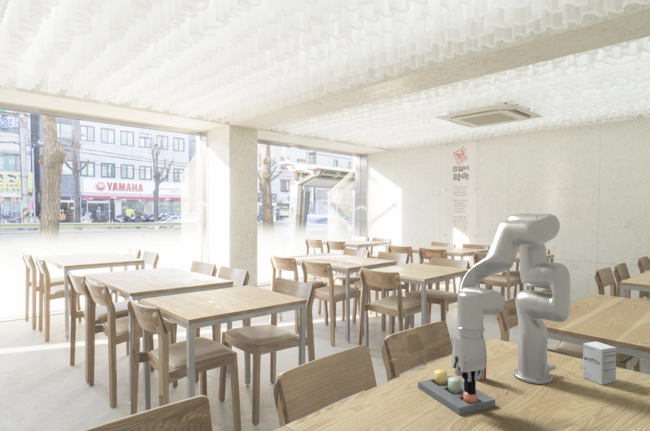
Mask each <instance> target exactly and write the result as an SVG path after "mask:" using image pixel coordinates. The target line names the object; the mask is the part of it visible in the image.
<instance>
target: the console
mask: <svg viewBox="0 0 650 431" xmlns="http://www.w3.org/2000/svg"><path fill="white" fill-rule="evenodd" d="M449 377H454V376H453V375H447V385H442V386H438V385H437V384H435V383H434V378H432V379H428V380H427V379H426V380H420V381H417V389H419V390H420V391H422V392H423V393H425V394H426V395H428V396H429V397H431V398H432V399H434V400H435V401H437V402H438V403H440V404H441V405H443V406H445V407H446V408H447V409H449V410H451V411H452V412H453V413H455V414H456V415H458V416H461V415H464V414H468V413H472V412H473V413H474V412H476V411H477V412H478V411H481V410H485V409H490V408H494V407H496V399H495V398H494V397H491V396H489V395H488V394H486V393H484V392H482V391H481V390H479V389H477V388H476V392H477V403H474V404H468V403H466V402H465V401H463V391H464V381H462V380H461V393H460V394H452V393H450V392H448V378H449Z"/></svg>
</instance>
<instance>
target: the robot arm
mask: <svg viewBox="0 0 650 431" xmlns="http://www.w3.org/2000/svg"><path fill="white" fill-rule="evenodd" d="M560 230H561V224H560V220H559V219H558V217H557V216H556V215H555V214H553V213H551V214H550V213H514V214H511V215H509V216H508V217H506V220H504V221H502V222H500V223H499V224H498V226H497V227H496V230H495V232H494V234H493V238H492V240H491V242H490V245H489V247H488V250H487V253H486V254H485V255H486V256H485V257H484V258H482V259H481V260H479V261H478V262H477V263H475V264H474V265H473V266H471V268H470V269H469V270H467V272H466V273H465V275H464V276H463V278H462V280H461V283H460V286H459V288H458V292H457V299H456V301H457V304H456V306H457V308H456V309H457V310H456V311H457V314H456V316H457V318H456V319H457V321H456V323H457V324H456V329H457V331H456V334H457V335H456V336H455V337H454V339H453V345H452V353H451V366H452V368H453V369H455V371H454V375H455V376H457V377H460V378H461V377H462V379H463V382H464V391H465V392H467V393H468V394H470V395H473V394H476V389H477V388H476V386H477V385H476V384H477V381H478V380H477V379H478V375H479V374H480V373H482V372H484V371H485V367H486V368H487V361H488V359H487V358H488V356H487V355H488V354H487V346H486V345H487V344H486V339H485V337H484V332H485V331H486V328H485V327H484V316H485V315H487V316H488V315H493V316H494V315H498V314H499V313H501V312H502V311H503V310H504V309H505V305H506V299H505V297H504V295H503V294H502V293H501V292H499V291H498V290H494V289H488V288H484V287H483V288H482V287H478V285H479V284H480V283H481V282H482V281H483V280H485V279H487V278H488V277H491V276H494V275H496V274H500V273H502V272H506V271H508V270H510V269H511V268H513V266H514V262H515V259H516V256H517V254H518V252H519V278H520V282H521V283H522V284H523V285H524V286H527V287H532V288H539V289H545V290H550V292H546V291H540V290H533V289H524V290H520V291H519V292H517V294H516V296H515V299H514V300H515V301H514V303H515V304H514V305H515V309H516V315H517V325H518V326H517V328H518V329H517V333H518V334H517V336H518V337H517V340H518V341H517V368H515V369H514V370H513V376H514V377H515V378H517V379H518V380H520V381H523V382H524V383H525V382H526V383H530V384H533V385H534V384H535V385H547V384H550V383H551V382H553V376H552V375H551V374H550V371H554V370H556V368H557V366H556V365H555V364H554V363H552V364H548V328H547V326H546V324H545V322H544V320H545V321H551V322H557V323H564V322H566V321H567V320H568V318H569V317H570V312H571V275H570V271H569V269H568V267H567V265H565V264H563V263H560V262H552V261H548V260H547V247H546V243H548V242H550V241H551V240H553V239H554V238H556V237H557V236H558V234H559V232H560ZM466 373H467V374H466Z"/></svg>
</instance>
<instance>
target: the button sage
mask: <svg viewBox="0 0 650 431" xmlns="http://www.w3.org/2000/svg"><path fill="white" fill-rule="evenodd" d="M461 381H462V379H461V377H460V378H459V377H458V376H457V377H456V376H453V377H449V378H448V392H450V393H452V394H460V393H461Z"/></svg>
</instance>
